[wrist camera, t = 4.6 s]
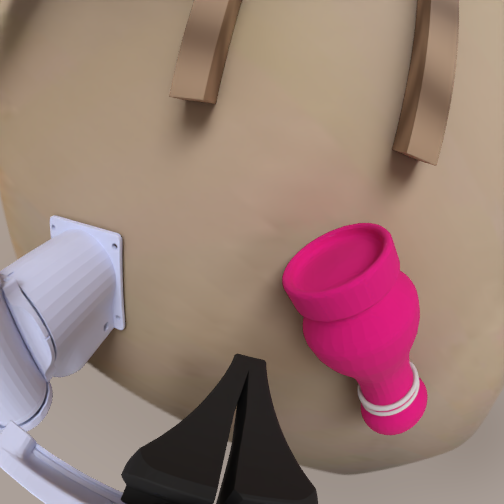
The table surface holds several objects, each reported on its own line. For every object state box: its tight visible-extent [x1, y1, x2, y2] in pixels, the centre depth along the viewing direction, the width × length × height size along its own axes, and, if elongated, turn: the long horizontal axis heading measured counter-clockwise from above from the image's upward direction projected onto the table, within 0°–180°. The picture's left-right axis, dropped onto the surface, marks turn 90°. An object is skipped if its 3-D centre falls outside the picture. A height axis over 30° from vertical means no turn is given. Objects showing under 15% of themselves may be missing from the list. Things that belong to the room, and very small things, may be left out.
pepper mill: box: [282, 223, 427, 435], centre depth 18 cm, size 7×7×20 cm
